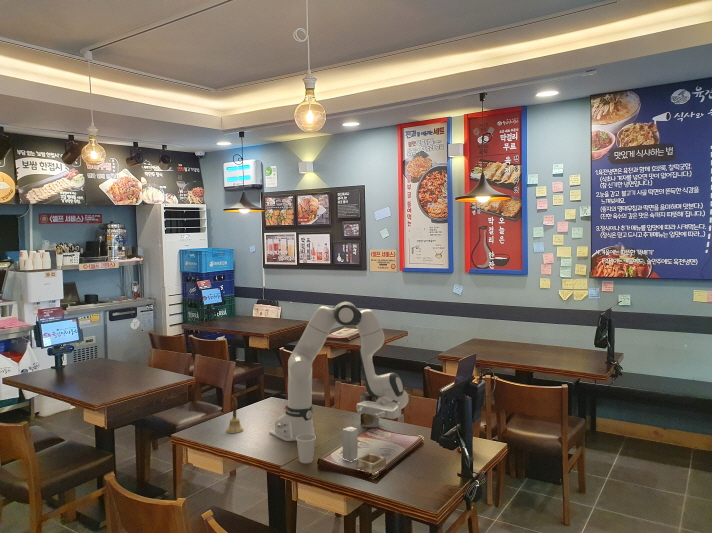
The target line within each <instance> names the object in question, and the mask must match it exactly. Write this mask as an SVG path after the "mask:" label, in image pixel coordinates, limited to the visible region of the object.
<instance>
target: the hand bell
mask: <svg viewBox="0 0 712 533" xmlns="http://www.w3.org/2000/svg"><path fill="white" fill-rule="evenodd" d="M231 409H232V418H231V419H229V425H228V427H227V428H226V429H225V430H226V431H225V432H226V433H228V434H238V433H241V432H243V431H244V427H243V426H242V425H241V423H240V421H241V420H240V418H238V417H237V410H238V400H237V397H233V398H232V402H231Z"/></svg>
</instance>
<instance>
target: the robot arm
mask: <svg viewBox="0 0 712 533" xmlns="http://www.w3.org/2000/svg"><path fill="white" fill-rule="evenodd" d="M337 324H339V325H341V326H343V327H356V329H357V331H358V335H359V337H360V341H361V346H360V347H359V358H360V362H361V366H362V367H361V368H362V372H363V376H364V386H365V392H367V393H368V394H369V395H370V396H371V397H373V398H376V397H379V398H378V399H377V401H376V402H371V401H363V402H358V403H356V411H357V414H358V415H361V414H363V413H366V414H371V415H375V418H379V419H380V418H386V419H389V420H395V419H397V418H400V417H401V416H402V409H404V408H405V407H406V406H407V405H408V403H409V397H410V396H409V394H408V393H407V391H406V390H404V383H403V379H402V378H401V377H400V375H399V374H398V373H396V372H388V373H384V374H380V375H377V374H376V371H375V366H374V363H373V356H374V354H376V352H377V351H379V350H380V349H381V348H382V347H383V345H384V343H385V340H386V337H385V333H384V330H383V328H382V325H381V322H380V321H379V318H378V316H377V315H376V313H375V311H374V310H372V309H369V308H367V309H361V310H359V309H358V308H357V307H356V305H355V304H354V303H353V302H351V301H346V300H345V301H341V302H339V303H337V304H336V305H335V306H333V307H332V308H331V307H328V306H326V305H325V306H324V305H322V306H320V307H318V308H317V309H316V310H315V312H314V313H313V315H311V318H310V319H309V321H308V323H307V324H306V327H305V329H304V331H303V333H302V335H301V336H300V339H299V340H298V341H297V344H296V345H295V347H294V348H293V350H292V352H291V353H290V356H289V358H288V360H287V361H288V362H287V367H288V368H287V373H288V375H287V380H288V381H287V382H288V385H287V386H288V387H287V399H288V400H287V405H285V407H283V410H285V411H284V413H283V414H282V415H280V416H279V417H278V418H277V419H276V420H275V422H274V427H273V428H271V429H270V430H269V434H270V435H272V436H274V437H276V438H279V439H281V440H283V441H285V442H291V441H292V442H293V441H297V439H296V437H297V436H298V435H300V434H313V435H315V436H316V434H315V429H314V423H313V422H314V421H313V404H312V403H313V402H312V401H313V400H312V397H313V396H312V395H313V394H312V387H313V363H314V360H315V358H316V357H317V356H318V355H319V353H320V351H321V350H322V348H323V346H324V344H325V342H326V341H327V339H328V337H329V335H330V333H331V330H332V329H333V327H334V326H335V325H337Z"/></svg>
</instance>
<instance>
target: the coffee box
mask: <svg viewBox="0 0 712 533" xmlns="http://www.w3.org/2000/svg"><path fill="white" fill-rule="evenodd" d="M359 397H360V398H359V399H360V402H363V401H371V402H376V401H377V399H378V398H380V397H376V398H373V397H371V396H370V395H369V394H368V393H367V391H361V392H360V396H359ZM360 402H359V403H360ZM379 426H380V418H375V415H371V414H366V413H363V414H360V428H363V427H364V428H379Z"/></svg>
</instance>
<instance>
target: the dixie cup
mask: <svg viewBox="0 0 712 533" xmlns="http://www.w3.org/2000/svg"><path fill="white" fill-rule="evenodd" d="M296 439H297V440H296V443H297V446H296V447H297V453H298V462H300V464H311V463H312V462H313V461H314V454H315V453H314V452H315V446H316V439H317V436H316V434H315V435H313V434H300V435H298V436H297V437H296Z"/></svg>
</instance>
